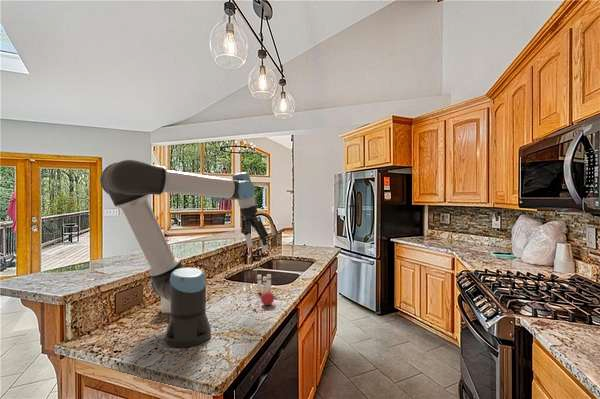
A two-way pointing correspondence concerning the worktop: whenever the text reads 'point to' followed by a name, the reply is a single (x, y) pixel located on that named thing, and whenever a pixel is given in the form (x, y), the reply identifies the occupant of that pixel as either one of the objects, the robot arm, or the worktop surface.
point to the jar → (165, 305)
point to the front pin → (264, 284)
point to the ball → (267, 298)
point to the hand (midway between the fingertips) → (257, 249)
